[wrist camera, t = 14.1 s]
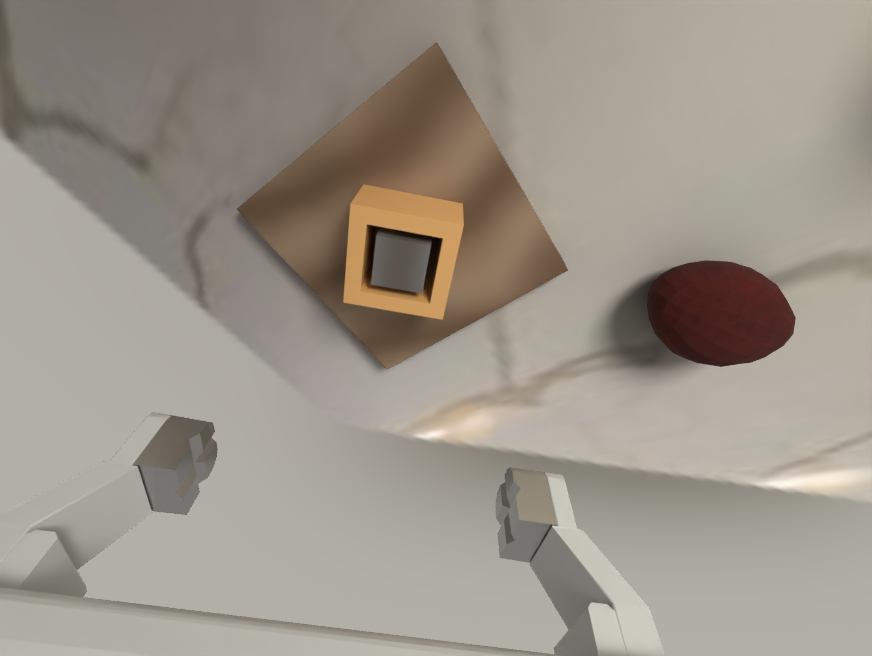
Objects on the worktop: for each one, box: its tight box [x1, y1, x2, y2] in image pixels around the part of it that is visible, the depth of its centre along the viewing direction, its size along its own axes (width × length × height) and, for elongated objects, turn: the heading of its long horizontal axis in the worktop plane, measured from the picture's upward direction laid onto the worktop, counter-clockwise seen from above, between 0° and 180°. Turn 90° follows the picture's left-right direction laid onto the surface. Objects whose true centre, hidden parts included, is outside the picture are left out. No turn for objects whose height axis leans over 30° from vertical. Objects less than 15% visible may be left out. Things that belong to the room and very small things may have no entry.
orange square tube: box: [343, 184, 464, 320], centre depth 27 cm, size 6×6×4 cm
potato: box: [647, 261, 796, 367], centre depth 30 cm, size 7×10×6 cm
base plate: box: [237, 43, 568, 369], centre depth 28 cm, size 16×16×6 cm
